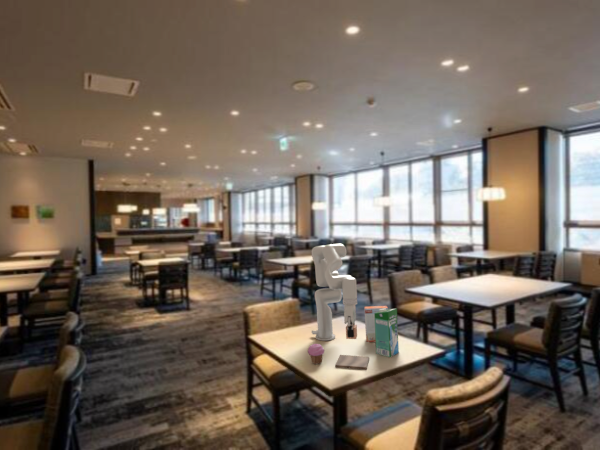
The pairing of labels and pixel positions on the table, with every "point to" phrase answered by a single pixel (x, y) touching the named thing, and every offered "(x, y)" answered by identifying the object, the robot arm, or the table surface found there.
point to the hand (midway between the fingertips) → (351, 335)
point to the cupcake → (316, 353)
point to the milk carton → (386, 332)
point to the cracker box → (371, 321)
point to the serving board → (352, 362)
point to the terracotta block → (354, 332)
